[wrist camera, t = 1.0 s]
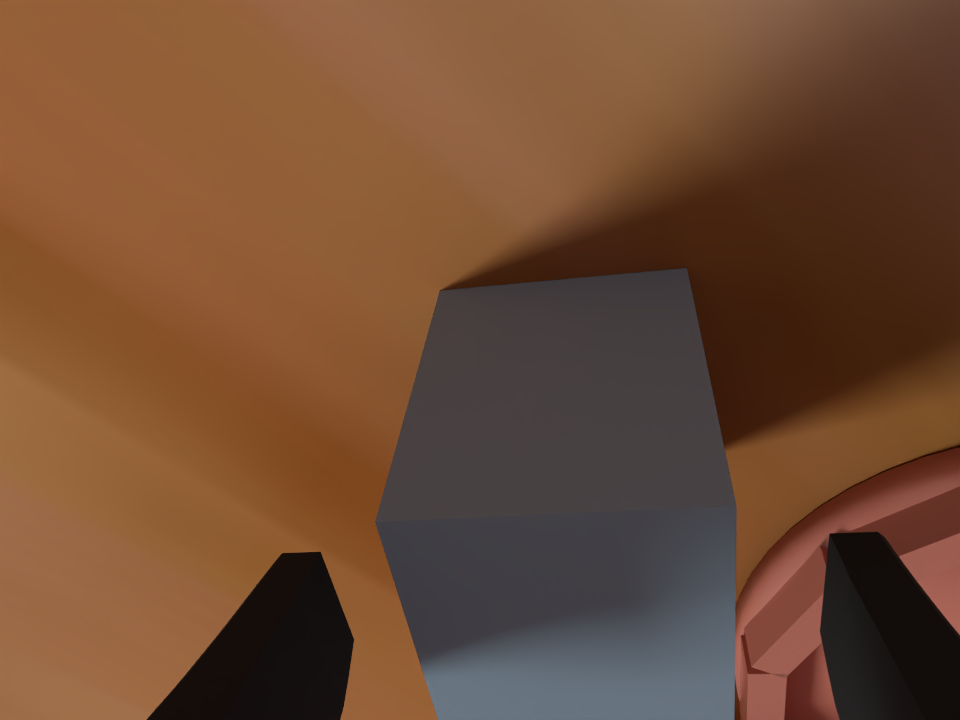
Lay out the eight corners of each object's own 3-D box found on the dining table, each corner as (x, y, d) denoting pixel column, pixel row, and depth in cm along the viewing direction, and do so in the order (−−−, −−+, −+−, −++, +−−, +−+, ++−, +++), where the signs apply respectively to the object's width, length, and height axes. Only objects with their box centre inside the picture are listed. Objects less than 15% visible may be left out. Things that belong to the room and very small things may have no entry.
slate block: (692, 458, 18) (733, 725, 13) (478, 470, 18) (440, 725, 13) (687, 267, 15) (736, 506, 10) (439, 289, 16) (375, 522, 11)
